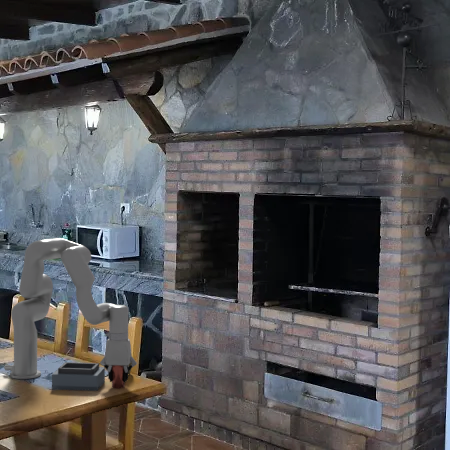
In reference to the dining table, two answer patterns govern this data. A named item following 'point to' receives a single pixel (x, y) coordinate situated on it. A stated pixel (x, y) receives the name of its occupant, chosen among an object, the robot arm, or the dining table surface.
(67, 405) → the dining table surface
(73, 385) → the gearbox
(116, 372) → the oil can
